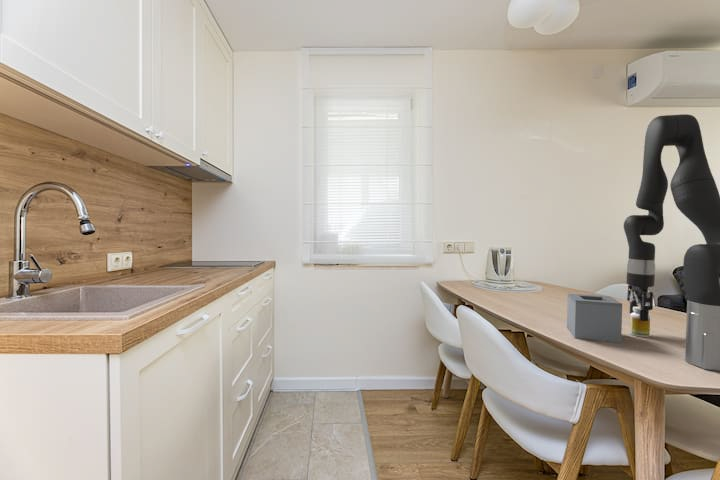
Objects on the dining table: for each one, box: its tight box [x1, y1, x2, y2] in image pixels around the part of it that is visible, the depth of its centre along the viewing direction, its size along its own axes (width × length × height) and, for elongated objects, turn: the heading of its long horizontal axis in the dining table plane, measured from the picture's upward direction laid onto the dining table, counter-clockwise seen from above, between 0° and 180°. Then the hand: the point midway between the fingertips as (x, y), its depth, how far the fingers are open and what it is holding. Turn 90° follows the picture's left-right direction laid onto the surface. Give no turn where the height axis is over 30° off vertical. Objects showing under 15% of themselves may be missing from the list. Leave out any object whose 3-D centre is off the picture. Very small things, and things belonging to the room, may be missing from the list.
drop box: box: [566, 293, 623, 344], centre depth 117 cm, size 13×13×13 cm
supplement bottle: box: [629, 306, 651, 338], centre depth 117 cm, size 5×5×10 cm
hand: (638, 317), depth 117 cm, fingers open, 8 cm apart
